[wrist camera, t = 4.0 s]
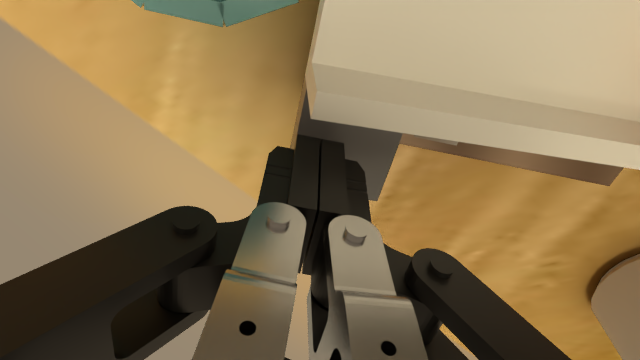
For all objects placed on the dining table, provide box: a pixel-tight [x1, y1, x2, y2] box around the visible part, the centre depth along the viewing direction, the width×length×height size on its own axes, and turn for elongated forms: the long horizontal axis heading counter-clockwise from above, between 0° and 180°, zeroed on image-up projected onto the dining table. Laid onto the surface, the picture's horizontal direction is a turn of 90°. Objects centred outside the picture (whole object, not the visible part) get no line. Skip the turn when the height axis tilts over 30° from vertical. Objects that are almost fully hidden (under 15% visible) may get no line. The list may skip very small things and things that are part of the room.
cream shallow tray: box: [290, 0, 640, 201], centre depth 13 cm, size 15×11×3 cm
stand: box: [399, 133, 624, 186], centre depth 15 cm, size 16×14×6 cm
